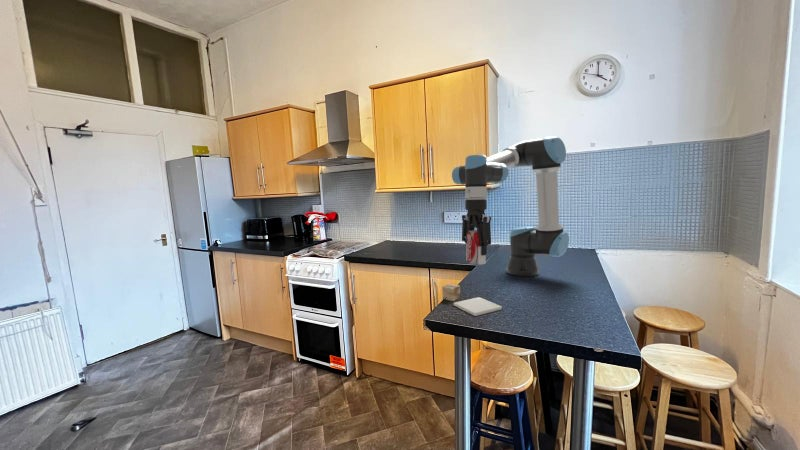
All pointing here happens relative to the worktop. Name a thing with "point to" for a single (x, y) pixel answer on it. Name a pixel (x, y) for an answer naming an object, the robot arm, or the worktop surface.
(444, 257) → the worktop surface
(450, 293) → the oak block
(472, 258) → the beverage can
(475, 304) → the tile
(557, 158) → the robot arm
